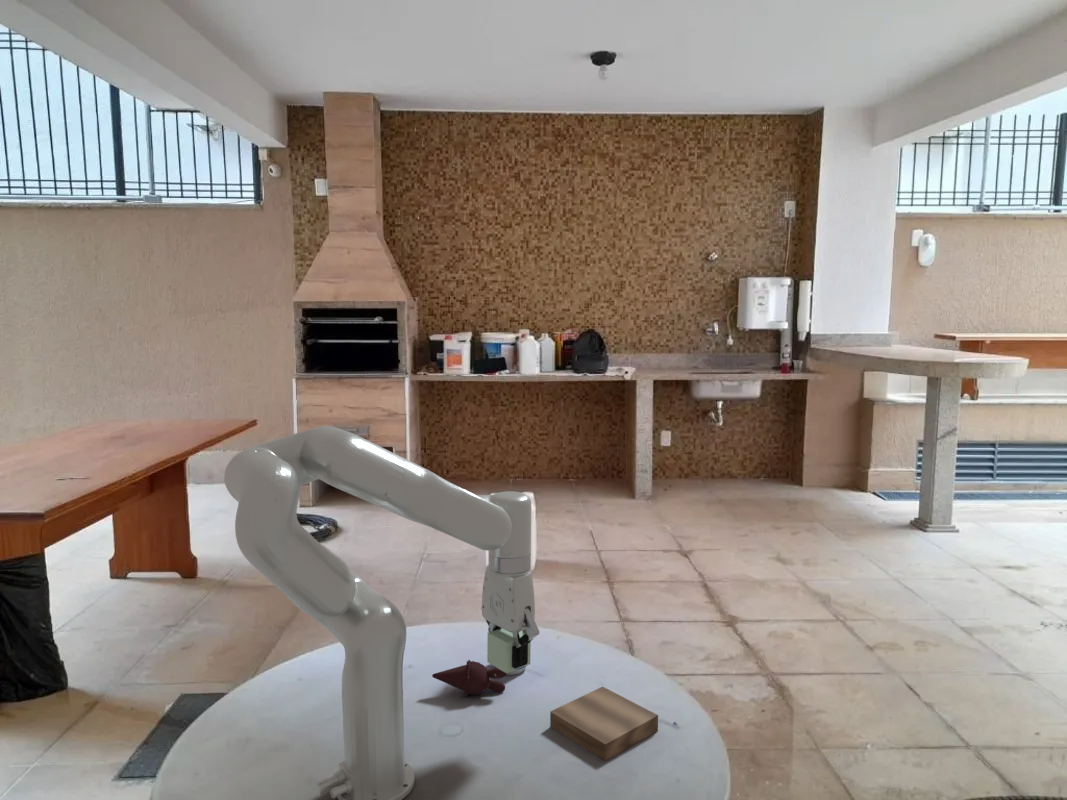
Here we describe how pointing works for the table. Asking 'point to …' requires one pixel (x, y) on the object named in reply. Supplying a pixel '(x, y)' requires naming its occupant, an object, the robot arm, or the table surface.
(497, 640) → the sage cube
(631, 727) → the walnut base
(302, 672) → the table surface
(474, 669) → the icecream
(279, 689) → the table surface
